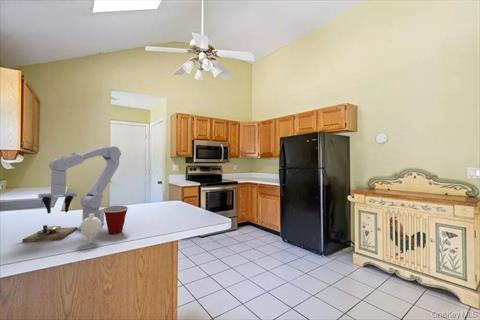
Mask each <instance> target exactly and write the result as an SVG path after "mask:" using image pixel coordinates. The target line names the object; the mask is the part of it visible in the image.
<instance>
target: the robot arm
mask: <svg viewBox="0 0 480 320" xmlns="http://www.w3.org/2000/svg"><path fill="white" fill-rule="evenodd" d="M121 155H122V151H121V150H120V148H119V147H118V146H116V145H115V146H103V147H99V148H95V149H92V150H89V151H87V152H84V153H79V152H71V154H69V155H66V156H60V158H55V159H52V160H51V161H50V163H49V164H48V167H49V169H50V171H51V174H50V192H47V193H46V192H45V193H39V194H38V195H37V198H38V199H41V201H42V203H43V204H44V206H45V209H46V211H47V214H49V215H50V214H51V212H52V208H51V205H52V198H64V199H65V208H64V209H65V210H64V211H65V213H68V212H69V208H70V205H71V202H72V201H73V199H74V198H75V197H76V198H77V197H78V192H77V191H73V192H70V191H69V192H67V171H68V169H71V168H72V167H77V166H78V165H82V164H83V163H84V161H85V160H89V159H92V158H94V157H98V156H99V157H101V156H102V158H103V160H104V161H105V162H106V166H105V168H104V169H103V170H102V173H101V174H100V175H99V177H98V178H97V181H96V182H95V184H94V185H93V187H92V188H91V190H89V191H88V192H86V194H85V195H84V196H82V197H81V199H80V206H82V219H81V220H82V221H81V223H82V222H83V220H84V219H86V218H89V214H94V217H97V218H99V219H100V220H101V222H102V225H103V224H105V213H104V211H103V209H104V208H100V206H101V205H102V200H103V198H104V195H103V193H104V191H105V189H106V188H107V186H108V184H109V183H110V181H111V180H112V178H113V176H114V174H115V173H116V171H117V169H118V168H119V166H120V157H121ZM78 228H80V226H78Z"/></svg>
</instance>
